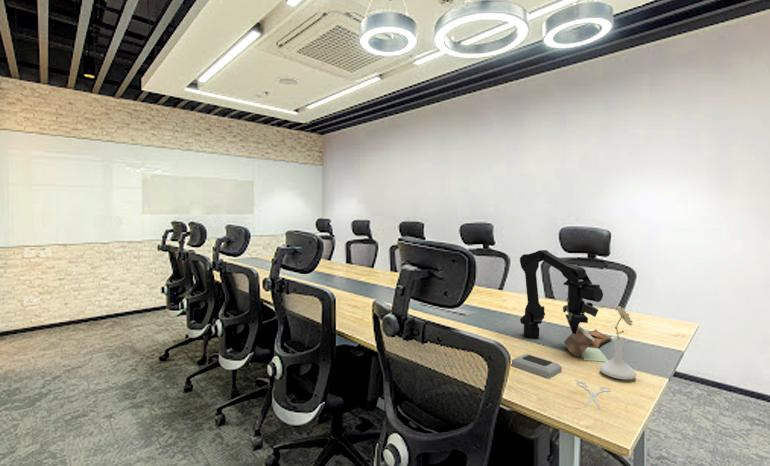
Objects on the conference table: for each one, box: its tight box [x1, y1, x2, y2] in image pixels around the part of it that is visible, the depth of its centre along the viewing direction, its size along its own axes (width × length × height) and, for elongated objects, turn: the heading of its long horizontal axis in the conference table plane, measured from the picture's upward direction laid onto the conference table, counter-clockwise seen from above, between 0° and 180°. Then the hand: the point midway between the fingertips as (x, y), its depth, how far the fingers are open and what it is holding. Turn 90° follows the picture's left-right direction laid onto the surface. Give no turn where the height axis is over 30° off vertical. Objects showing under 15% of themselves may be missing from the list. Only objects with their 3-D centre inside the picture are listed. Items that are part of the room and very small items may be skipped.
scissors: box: [575, 378, 612, 410], centre depth 119 cm, size 11×1×20 cm
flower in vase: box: [598, 305, 637, 380], centre depth 134 cm, size 13×11×25 cm
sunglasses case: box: [588, 329, 612, 348], centre depth 169 cm, size 18×7×7 cm
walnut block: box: [563, 324, 594, 358], centre depth 156 cm, size 4×12×10 cm
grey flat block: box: [510, 353, 563, 379], centre depth 139 cm, size 10×4×15 cm
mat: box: [579, 347, 609, 363], centre depth 155 cm, size 10×16×1 cm, turn 164°
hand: (573, 333), depth 156 cm, fingers closed
